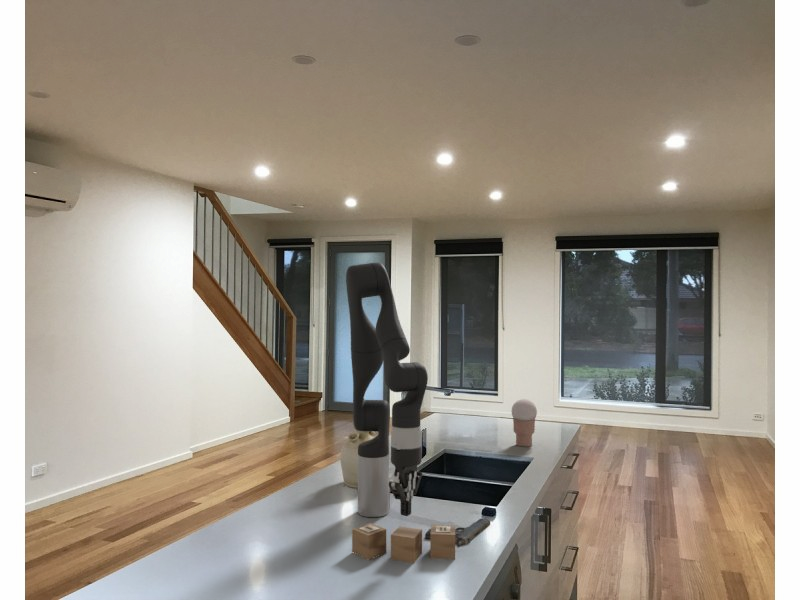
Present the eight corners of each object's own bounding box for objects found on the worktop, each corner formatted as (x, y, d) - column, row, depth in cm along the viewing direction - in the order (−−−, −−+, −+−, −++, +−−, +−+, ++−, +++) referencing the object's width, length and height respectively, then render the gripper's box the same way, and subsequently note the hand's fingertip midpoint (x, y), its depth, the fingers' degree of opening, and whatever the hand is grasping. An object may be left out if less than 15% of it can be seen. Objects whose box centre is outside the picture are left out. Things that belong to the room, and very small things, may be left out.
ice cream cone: (540, 444, 269) (540, 398, 269) (531, 449, 260) (531, 402, 260) (517, 441, 275) (517, 396, 275) (507, 445, 266) (507, 399, 266)
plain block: (399, 550, 154) (399, 526, 154) (422, 553, 152) (422, 529, 152) (390, 559, 148) (390, 534, 148) (414, 563, 146) (414, 538, 146)
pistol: (452, 518, 178) (491, 526, 172) (422, 540, 162) (464, 549, 156) (452, 511, 178) (491, 518, 172) (422, 532, 162) (463, 541, 156)
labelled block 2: (431, 548, 155) (431, 524, 155) (455, 549, 154) (455, 524, 155) (430, 558, 149) (430, 532, 149) (455, 559, 149) (455, 533, 149)
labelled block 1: (370, 546, 156) (370, 522, 156) (386, 553, 152) (386, 528, 152) (352, 553, 152) (352, 528, 152) (368, 560, 148) (368, 534, 148)
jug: (358, 493, 199) (358, 416, 200) (331, 482, 211) (331, 410, 211) (393, 484, 209) (394, 411, 210) (366, 474, 221) (366, 405, 221)
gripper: (406, 437, 158) (406, 504, 158) (378, 447, 146) (378, 520, 146) (432, 440, 154) (432, 509, 154) (405, 451, 143) (405, 526, 142)
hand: (405, 514), depth 150 cm, fingers closed
